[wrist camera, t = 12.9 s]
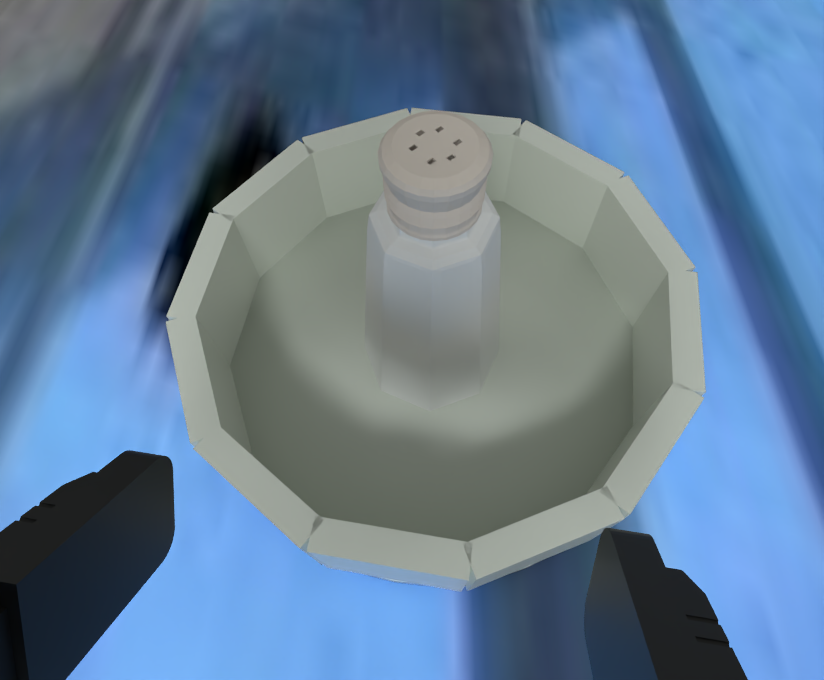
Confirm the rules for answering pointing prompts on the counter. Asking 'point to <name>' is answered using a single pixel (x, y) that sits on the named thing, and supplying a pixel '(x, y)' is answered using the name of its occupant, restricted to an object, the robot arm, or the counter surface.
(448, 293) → the salt shaker
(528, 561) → the bowl
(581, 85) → the counter surface
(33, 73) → the counter surface
